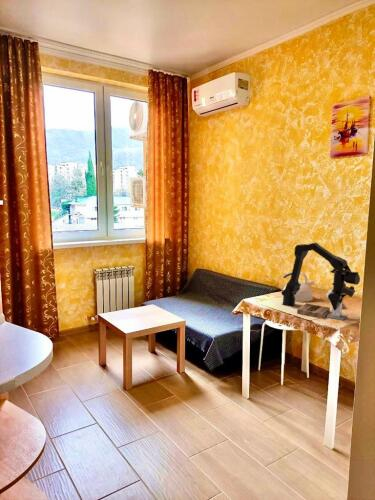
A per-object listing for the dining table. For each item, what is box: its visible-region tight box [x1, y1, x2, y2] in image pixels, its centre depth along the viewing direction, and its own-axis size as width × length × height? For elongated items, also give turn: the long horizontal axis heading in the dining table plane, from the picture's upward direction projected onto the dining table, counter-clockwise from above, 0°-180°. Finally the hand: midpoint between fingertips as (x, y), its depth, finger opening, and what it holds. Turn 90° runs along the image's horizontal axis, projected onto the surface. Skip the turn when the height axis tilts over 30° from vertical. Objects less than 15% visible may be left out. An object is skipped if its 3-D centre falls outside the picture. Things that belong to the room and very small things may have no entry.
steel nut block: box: [331, 301, 343, 318], centre depth 203 cm, size 4×4×8 cm
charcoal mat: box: [325, 312, 347, 322], centre depth 204 cm, size 9×9×1 cm
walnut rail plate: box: [296, 303, 331, 319], centre depth 211 cm, size 14×16×2 cm
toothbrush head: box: [325, 289, 345, 309], centre depth 233 cm, size 5×7×25 cm
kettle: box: [281, 271, 315, 303], centre depth 243 cm, size 20×21×18 cm
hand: (337, 308), depth 203 cm, fingers open, 9 cm apart
